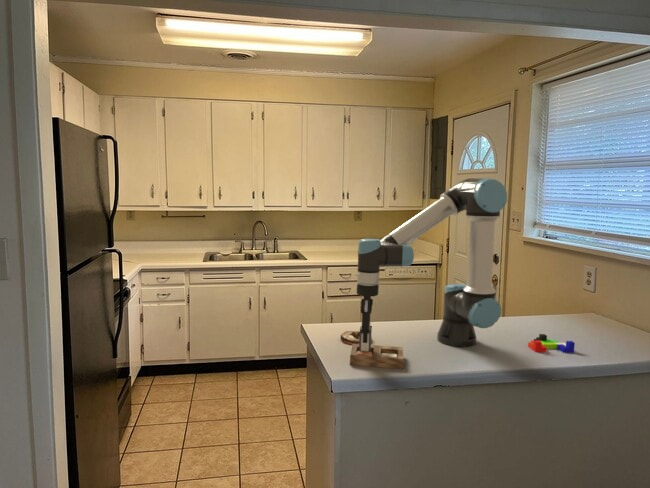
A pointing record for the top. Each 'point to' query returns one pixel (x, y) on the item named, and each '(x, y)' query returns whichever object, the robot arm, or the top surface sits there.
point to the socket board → (378, 356)
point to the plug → (369, 338)
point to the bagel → (351, 337)
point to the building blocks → (550, 345)
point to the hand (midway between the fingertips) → (365, 348)
